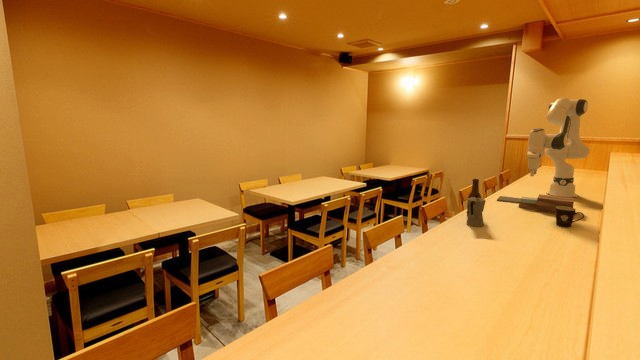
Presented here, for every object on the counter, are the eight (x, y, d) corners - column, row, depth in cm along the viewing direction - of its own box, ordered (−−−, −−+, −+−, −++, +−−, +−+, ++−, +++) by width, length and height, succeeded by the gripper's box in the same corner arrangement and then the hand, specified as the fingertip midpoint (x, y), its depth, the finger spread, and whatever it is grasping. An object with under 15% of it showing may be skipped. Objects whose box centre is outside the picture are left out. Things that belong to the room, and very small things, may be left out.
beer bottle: (479, 219, 185) (481, 180, 181) (465, 217, 190) (467, 179, 185) (481, 216, 191) (484, 178, 187) (468, 214, 196) (470, 177, 191)
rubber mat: (500, 197, 234) (500, 195, 234) (541, 202, 218) (541, 200, 217) (496, 200, 225) (496, 199, 225) (540, 205, 209) (540, 204, 208)
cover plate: (522, 200, 210) (522, 196, 209) (559, 204, 197) (559, 200, 197) (520, 202, 205) (521, 198, 205) (558, 206, 193) (558, 202, 192)
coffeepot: (470, 220, 185) (471, 191, 182) (487, 223, 179) (489, 193, 176) (461, 227, 174) (462, 196, 171) (478, 230, 168) (481, 198, 165)
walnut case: (520, 204, 213) (521, 192, 212) (572, 211, 196) (574, 197, 194) (517, 208, 204) (518, 196, 203) (572, 215, 187) (573, 202, 185)
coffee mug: (550, 224, 173) (552, 207, 171) (559, 222, 177) (561, 205, 175) (574, 231, 163) (576, 212, 161) (583, 228, 166) (585, 210, 164)
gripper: (532, 152, 209) (530, 172, 211) (526, 155, 194) (524, 176, 196) (543, 153, 204) (541, 173, 207) (538, 155, 190) (536, 177, 192)
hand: (533, 175), depth 201 cm, fingers open, 8 cm apart
